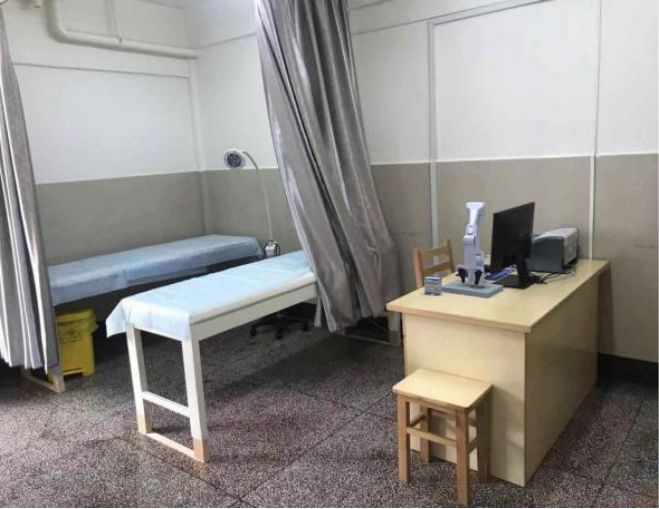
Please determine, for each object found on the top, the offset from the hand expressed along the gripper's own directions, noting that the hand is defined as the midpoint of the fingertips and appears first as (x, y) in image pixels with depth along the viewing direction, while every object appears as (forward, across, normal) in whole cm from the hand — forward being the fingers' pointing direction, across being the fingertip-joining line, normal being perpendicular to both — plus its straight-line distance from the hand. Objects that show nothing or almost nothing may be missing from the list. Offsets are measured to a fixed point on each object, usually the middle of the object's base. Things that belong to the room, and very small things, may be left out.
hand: (470, 283), depth 283 cm
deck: (+4, +1, 0) cm, 4 cm away
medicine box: (+4, -13, -15) cm, 20 cm away
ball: (0, +1, 0) cm, 1 cm away
